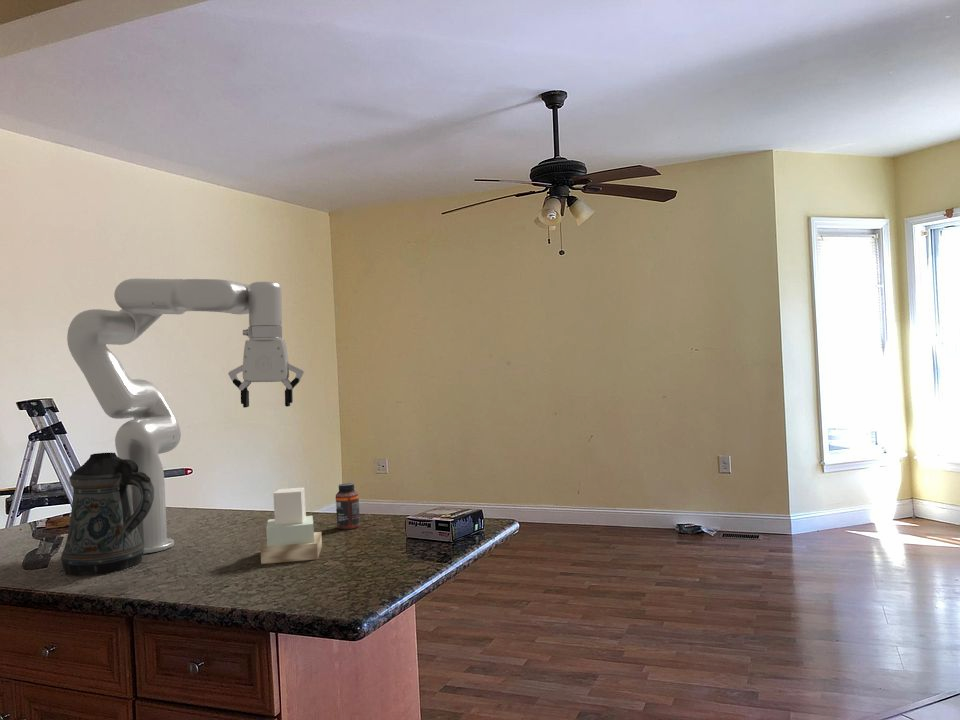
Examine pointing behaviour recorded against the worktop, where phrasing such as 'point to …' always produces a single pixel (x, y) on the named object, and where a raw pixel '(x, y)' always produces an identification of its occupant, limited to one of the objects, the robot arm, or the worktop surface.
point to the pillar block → (289, 506)
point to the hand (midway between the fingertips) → (266, 406)
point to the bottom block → (292, 551)
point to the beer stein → (105, 516)
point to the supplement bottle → (347, 507)
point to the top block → (290, 532)
